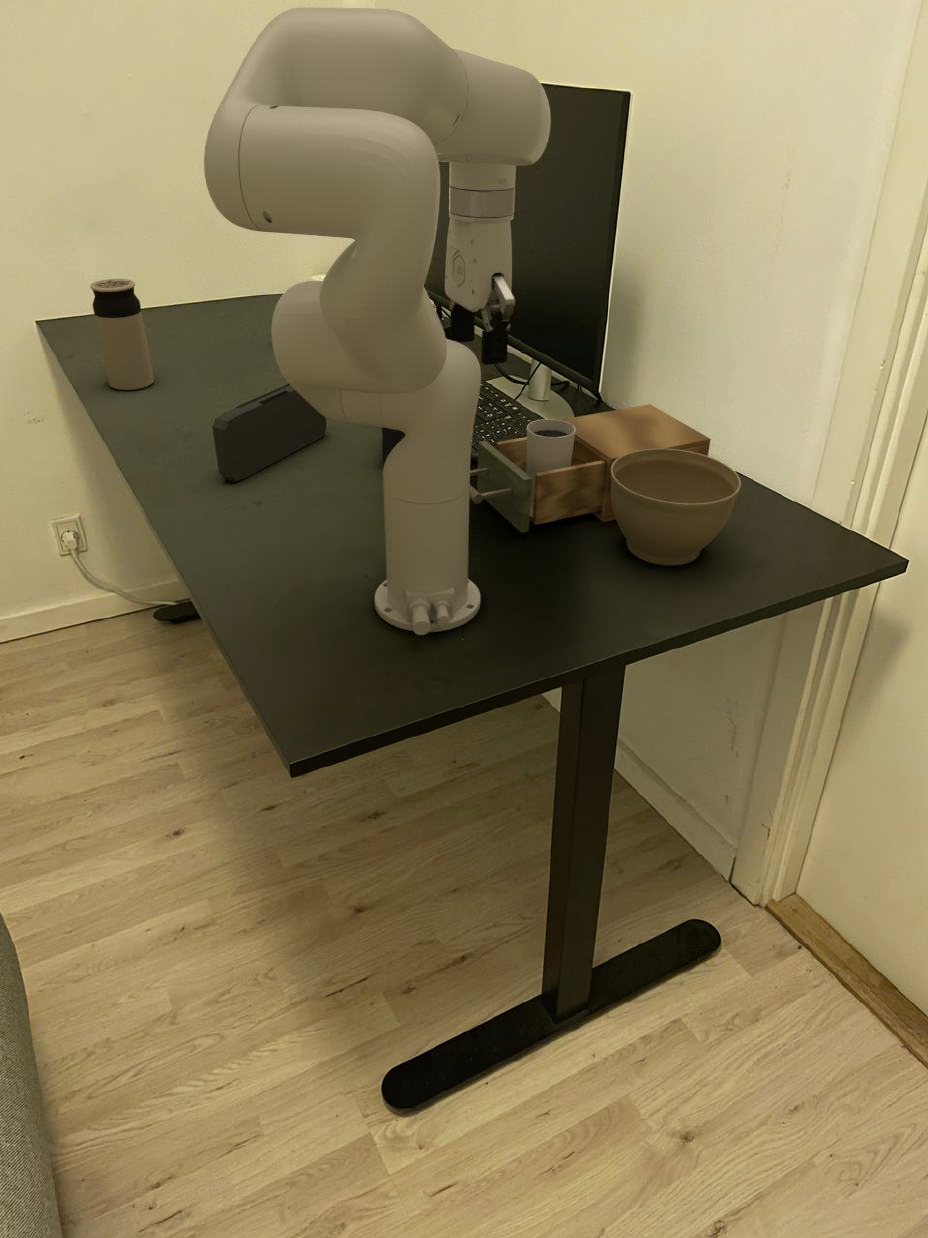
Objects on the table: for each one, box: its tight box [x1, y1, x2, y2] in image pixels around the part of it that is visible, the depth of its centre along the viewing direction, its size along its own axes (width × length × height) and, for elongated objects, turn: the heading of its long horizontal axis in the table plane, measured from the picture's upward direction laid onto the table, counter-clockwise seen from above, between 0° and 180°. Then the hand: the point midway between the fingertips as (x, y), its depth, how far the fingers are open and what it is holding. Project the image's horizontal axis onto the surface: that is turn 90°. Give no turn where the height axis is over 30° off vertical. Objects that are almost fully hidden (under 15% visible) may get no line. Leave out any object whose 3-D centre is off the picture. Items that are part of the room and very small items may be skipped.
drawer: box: [469, 436, 607, 534], centre depth 126 cm, size 21×13×8 cm, turn 116°
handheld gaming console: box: [211, 383, 327, 483], centre depth 140 cm, size 23×3×10 cm, turn 149°
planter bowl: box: [611, 449, 742, 566], centre depth 117 cm, size 16×16×11 cm
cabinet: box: [561, 403, 712, 523], centre depth 132 cm, size 17×15×10 cm
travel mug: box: [89, 278, 155, 391], centre depth 164 cm, size 8×8×18 cm
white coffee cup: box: [526, 418, 576, 502], centre depth 126 cm, size 7×7×10 cm
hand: (477, 351), depth 115 cm, fingers open, 9 cm apart
